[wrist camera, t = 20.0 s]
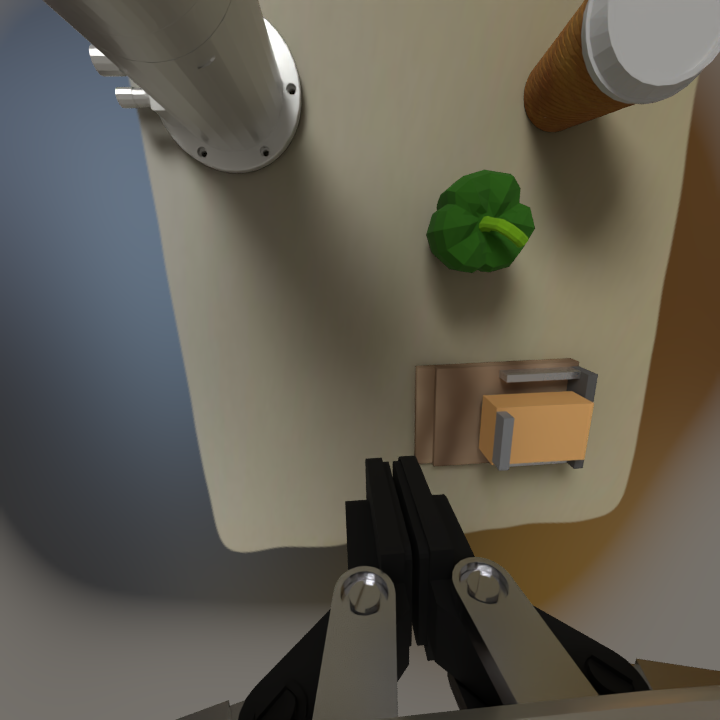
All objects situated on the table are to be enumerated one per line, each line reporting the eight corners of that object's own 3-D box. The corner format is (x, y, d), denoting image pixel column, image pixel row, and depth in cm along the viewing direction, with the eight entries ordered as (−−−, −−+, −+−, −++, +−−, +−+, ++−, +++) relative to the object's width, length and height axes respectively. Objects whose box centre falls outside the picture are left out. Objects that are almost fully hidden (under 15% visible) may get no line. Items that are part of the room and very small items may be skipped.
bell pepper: (400, 218, 35) (426, 202, 25) (472, 169, 34) (526, 133, 24) (441, 290, 37) (479, 299, 27) (509, 245, 36) (572, 239, 27)
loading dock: (414, 460, 42) (423, 482, 38) (415, 365, 39) (425, 378, 35) (557, 451, 43) (582, 472, 39) (570, 358, 40) (598, 369, 36)
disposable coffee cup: (579, 164, 35) (700, 115, 23) (491, 132, 33) (574, 64, 22) (622, 54, 32) (782, -61, 21) (530, 15, 31) (646, -131, 19)
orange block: (474, 442, 41) (498, 474, 35) (478, 391, 39) (504, 414, 33) (557, 438, 41) (595, 468, 35) (565, 387, 39) (605, 409, 33)
